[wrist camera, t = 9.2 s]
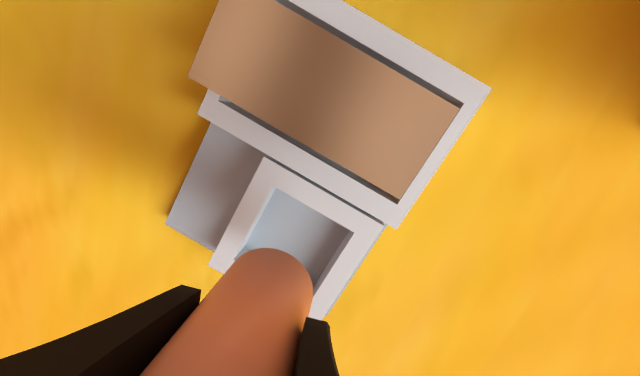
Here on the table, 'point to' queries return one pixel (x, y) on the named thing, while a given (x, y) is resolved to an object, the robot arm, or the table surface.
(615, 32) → the table surface
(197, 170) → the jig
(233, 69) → the tan rectangular block
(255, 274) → the tail peg
